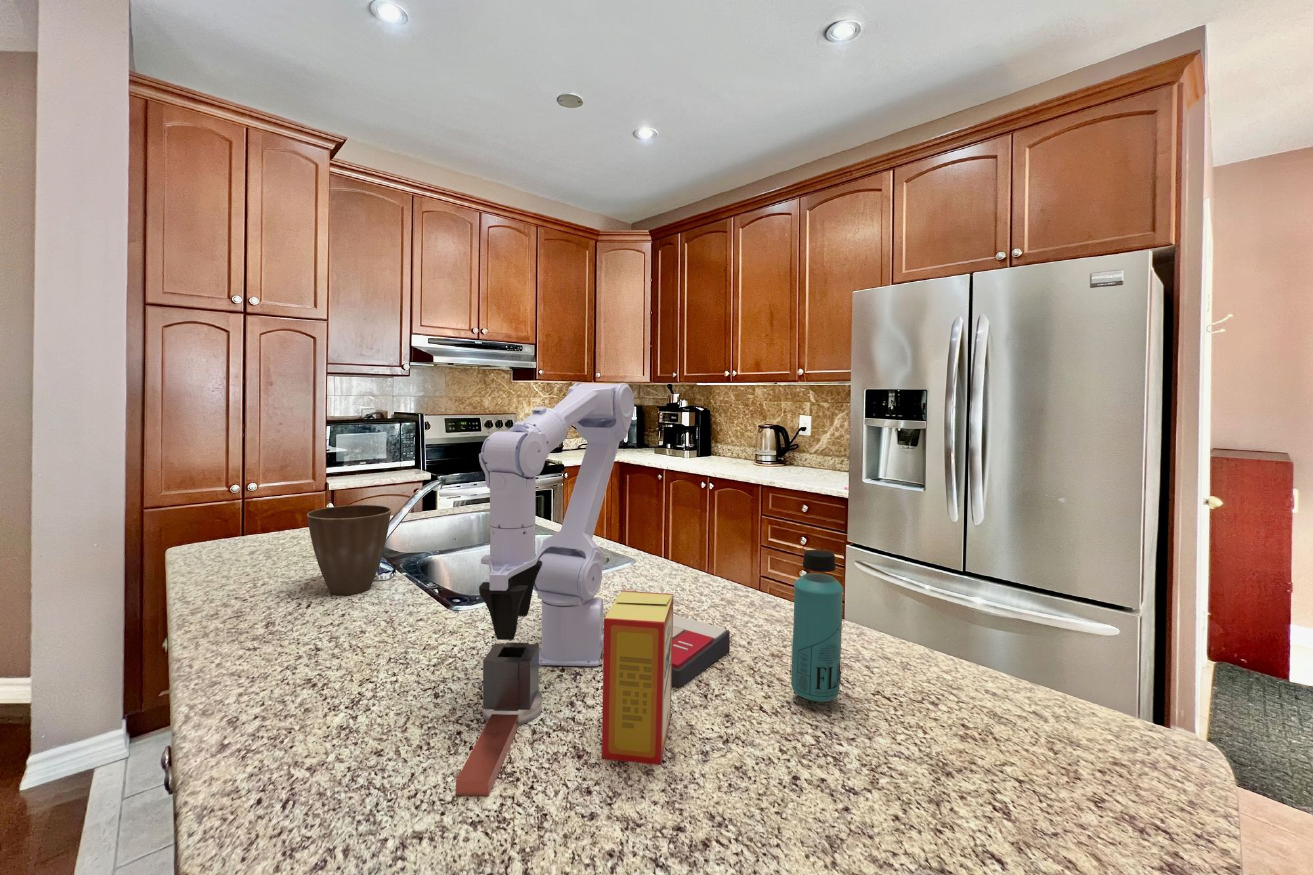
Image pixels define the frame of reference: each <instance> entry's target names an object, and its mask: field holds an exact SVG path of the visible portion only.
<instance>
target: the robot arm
mask: <svg viewBox="0 0 1313 875" xmlns="http://www.w3.org/2000/svg"><path fill="white" fill-rule="evenodd" d="M634 400H635V399H634V392H633V391H632V388H631V387H630V385H629V384H628V383H626V382H621V383H583V382H576V383H574V384H573V385H571V386H569V387H568V390H567V393H566V396H565V397H564V398H563V399H562V400H560V401H559V402H558V403H557V404H556V405H555V406H554V407H553V408H550V407H545V406H536V407H534V408H532V410H531V412H532V413H531V414H530V415H528V416H526V417H525V418H524V419H523V420H520V421H516V422H515V423H513V424H512V427H510V428H509V429H508V430H507V431H504V430H503V431H501V430H499V431H495V432H493V433H492V434H490V435H489V436H487V438H485V440H484V442H483V444H482V447H481V449H480V451H481V452H480V453H479V454H478V459H479V464H480V467H481V469H482V471H483V473H484V476H485V477H484V478H485V485H486V488H488V489H489V539H490V540H489V554H485V555H483V556H482V557H481V558H480V564H481V565H487V566H488V568H489V570H490V574H489V581H483V582H481V584H480V585H479V586H478V592H479V596H480V597H481V599H482V600H483V602H484V604H485V605H486V608H487V610H488V612H489V616H490V619H491V622H492V628H493V631H494V635H495V638H496V640H497V641H512V640H514V639H515V637H516V633H517V628H518V623H519V620H518V619H519V617H527V616H528V614H529V612H530V607H531V603H532V602H531V601H532V598H533V597H532V596H533V591H534V592H537V599H540V600H541V642H540V643H541V647H539V666H571V667H572V666H573V667H575V666H576V667H577V666H578V667H598V666H599V664H600V661H601V656H602V652H603V646H604V599H603V598H600V597H595V596H596V595H597V593H598V592H599V590H600V588H601V585H602V582H603V581H602V580H603V564H604V560H605V556H604V553H603V551H602V548H600V546H598V544H597V543H596V542H595V541H594V540H593V537H594V534H595V530H596V527H597V524H598V521H599V516H600V513H601V510H602V506H603V503H604V498H605V495H606V493H607V489H608V484H609V481H610V477H611V474H612V470H613V467H614V464H615V459H616V456H617V453H618V450H619V446H620V442H621V441H623V440H625V439H626V438H627V436H628V433H629V430H630V427H631V424H632V419H633V415H634V412H635V402H634ZM573 425H574V426H575V429H576V432H577V435H578V436H579V437H581V438H582V439H583V440H585V441H586V442H587V444H586V448H585V451H584V455H583V458H582V461H581V464H580V468H579V470H578V474H577V477H576V479H575V482H574V487H573V490H572V493H571V496H570V499H569V502H568V505H567V509H566V512H565V515H564V518H563V520H562V521H563V522H562V524H561V528H560V530H559V531H557V532H556V533H554V534H552V535H550V536H549V537H548V538H546V539H544V540H543V541H542V545H541V547H540V549H539V551H538V553H537V555H536V476H537V475H540V474H541V472H542V471H543V469H544V466H545V462H546V460H547V459H548V458H549V454H550V453H551V452H552V451H553V450H555V449H556V448H558V446H560V445H561V444H562V443H564V441H565V440H566V439H567V436H568V429H569V428H571V427H572V426H573Z"/></svg>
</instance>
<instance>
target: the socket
mask: <svg viewBox="0 0 1313 875" xmlns="http://www.w3.org/2000/svg"><path fill="white" fill-rule="evenodd" d="M539 650H540V644H539V643H530V642H508V641H507V642H506V643H505V642H504V643H497V642H495V643H494V644H493V645H492V647H491V649H490V650H489V652H488V653H487V655H485V657H484V658H483V661H482V665H483V666H482V710H483V709H494V711H518V710H530V709H531V706H532V704H533V702H534V699H535V697H536V694H537V692H538V690H539V691H540V689H539V688H540V686H539V684H540V680H539V679H540V665H539Z"/></svg>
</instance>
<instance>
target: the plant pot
mask: <svg viewBox="0 0 1313 875" xmlns="http://www.w3.org/2000/svg"><path fill="white" fill-rule="evenodd" d="M391 514H392V508H390V507H389V506H384V505H373V504H372V505H371V504H355V505H353V504H352V505H338V506H337V505H336V506H331V507H324V508H319V509H314V510H311V511H309V512H307V513H306V518H307V524H308V529H309V531H308V532H309V535H310V540H311V543H312V547H313V552H314V555H315V558H316V562H317V564H318V567H319V569H320V570H319V571H320V573H321V575H322V576H321V577H322V578H323V580H324V582H325V585H326V587H327V589H328V591H329V593H330V594H332V593H333V595H337V596H339V595H340V596H341V595H342V596H345V595H346V596H347V595H348V596H349V595H355V594H360V593H364V592H366V591H368V590H370V589H371V587H372V585H373V583H374V580H375V578H376V575H377V573H378V569H379V567H380V563H381V560H382V557H383V553H384V550H385V546H386V542H387V537H388V532H389V526H390V520H391Z"/></svg>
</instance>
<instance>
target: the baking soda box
mask: <svg viewBox="0 0 1313 875" xmlns="http://www.w3.org/2000/svg"><path fill="white" fill-rule="evenodd" d="M673 615H674V593H665V592H664V593H663V592H662V593H661V592H647V591H636V590H635V591H634V590H633V591H631V590H620V592H619V594H618V595H617V596H616V598H615V600H614V602H613V603H612V605H611V607H610V608H609V609H608V611H607V613H606V615H605V617H603V635H604V646H603V648H602V652H603V655H602V656H603V657H602V659H603V660H602V662H603V663H602V714H601V715H602V716H601V717H602V720H601V721H602V722H601V725H602V726H601V728H602V730H601V732H602V733H601V734H602V735H601V740H602V741H601V759H603V760H610V761H611V760H613V761H621V762H630V763H631V762H632V763H640V764H650V765H659V766H661V765H662V761H663V756H664V752H665V746H666V742H667V737H668V732H669V727H670V723H671V718H672V686H671V684H672V639H673Z"/></svg>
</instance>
